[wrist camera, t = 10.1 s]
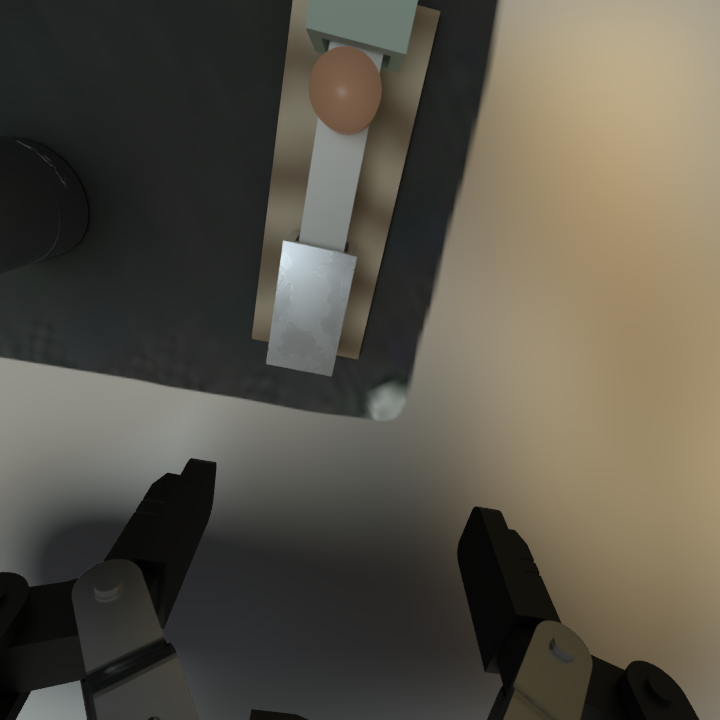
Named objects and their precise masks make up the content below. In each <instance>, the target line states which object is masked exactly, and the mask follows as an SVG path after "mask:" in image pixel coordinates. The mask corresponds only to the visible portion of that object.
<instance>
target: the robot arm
mask: <svg viewBox="0 0 720 720" xmlns="http://www.w3.org/2000/svg"><path fill="white" fill-rule="evenodd" d="M87 223H88V205H87V200H86V196H85V193H84V191H83V188H82V186H81V183H80V182H79V180H78V178H77V177H76V175H75V174H74V172H73V171H72V169H71V168H70V167H69V166H68V165H67V164H66V163H65V161H64V160H63V159H61V158H60V157H59V156H58V155H57V154H55V153H54V152H53V151H52V150H50V149H48V148H47V147H45V146H43V145H41V144H40V143H37V142H34V141H32V140H29V139H26V138H19V137H9V136H0V274H2V273H5V272H8V271H11V270H14V269H17V268H20V267H23V266H26V265H29V264H33V263H35V262H38V261H41V260H44V259H47V258H50V257H53V256H56V255H59V254H62V253H65V252H67V251H69V250H70V249H72V248H74V247H75V246H76V245H77V244H78V243H79V242H80V240H81V239H82V237H83V235H84V233H85V231H86V228H87ZM215 477H216V462H211V461H205V460H199V459H193V458H191V459H190V460H189V461H188V462H187V464H186V466H185V468H184V470H183V471H182V473H181V475H177V474H171V473H167V474H165V475H164V476H162V477H161V478H160V479H158V480H157V481H156V482H154V483H153V484H152V485H151V487H150V488H149V490H148V492H147V493H146V495H145V497H144V499H143V501H141V503H140V504H139V506H138V508H137V509H136V512H135V513H134V514H133V516H132V517H131V519H130V520H129V522H128V524H127V525H126V527H125V528H124V530H123V532H122V533H121V535H120V536H119V538H118V539H117V541H116V543H115V544H114V546H113V548H112V549H111V551H110V552H109V554H108V555H107V557H106V558H105V560H104V561H103V562H100V563H98V564H96V565H94V566H92V567H90V568H89V569H88V570H86V571H85V572H84V573H83V574H82V575H81V576H80V577H79V578H77V579H74V580H71V581H67V582H61V583H55V584H47V585H41V586H33V587H29V586H28V583H27V581H26V580H25V578H24V577H22V576H20V575H18V574H16V573H10V572H0V720H16V718H17V716H18V714H19V713H20V711H21V709H22V707H23V705H24V703H25V701H26V700H27V698H28V696H29V694H30V692H31V691H33V690H37V689H42V688H46V687H51V686H55V685H60V684H65V683H69V682H74V681H78V680H80V682H81V688H82V694H83V699H84V705H85V711H86V716H87V720H200V719H199V716H198V713H197V710H196V707H195V704H194V701H193V698H192V696H191V693H190V690H189V687H188V684H187V681H186V679H185V676H184V673H183V670H182V667H181V664H180V662H179V659H178V656H177V653H176V651H175V649H174V647H173V645H172V644H171V643H169V644H167V643H166V641H165V639H164V636H163V633H162V630H161V628H165V625H166V622H167V620H168V618H169V615H170V613H171V611H172V608H173V606H174V603H175V601H176V598H177V596H178V594H179V591H180V589H181V586H182V584H183V582H184V579H185V577H186V574H187V572H188V569H189V567H190V564H191V562H192V560H193V557H194V555H195V552H196V550H197V547H198V545H199V543H200V540H201V538H202V535H203V533H204V530H205V528H206V526H207V523H208V520H209V517H210V514H211V510H212V505H213V498H214V488H215ZM457 557H458V564H459V568H460V572H461V576H462V581H463V584H464V589H465V592H466V597H467V600H468V605H469V609H470V613H471V617H472V621H473V625H474V630H475V633H476V637H477V642H478V646H479V650H480V654H481V658H482V662H483V666H484V670H485V672H489V673H497V674H500V675H501V679H502V683H503V685H502V687H501V688H500V690H499V692H498V694H497V697H496V699H495V701H494V704H493V706H492V708H491V711H490V713H489V716H488V718H487V720H699V718H698V717H697V716H696V713H695V711H694V709H693V708H692V706H691V704H690V702H689V701H688V699H687V697H686V695H685V694H684V692H683V691H682V689H681V688H680V687H679V686H678V684H677V683H676V682H675V681H674V680H673V679H672V678H671V677H670V676H669V675H668V674H666V673H665V672H664V671H663V670H661V669H660V668H658V667H656V666H655V665H653V664H650V663H648V662H644V661H634V662H631V663H630V664H629V665H628V667H627V668H626V669H625V670H623V669H621V668H619V667H617V666H614V665H612V664H610V663H607V662H605V661H603V660H601V659H599V658H597V657H595V656H593V655H591V654H590V652H589V650H588V648H587V646H586V645H585V643H584V642H583V641H582V639H581V638H580V637H579V636H578V635H577V634H576V633H575V632H574V631H572V630H571V629H570V628H568V627H567V626H565V625H563V624H562V623H561V621H560V619H559V617H558V614H557V612H556V610H555V607H554V605H553V603H552V601H551V598H550V596H549V594H548V592H547V589H546V587H545V584H544V582H543V580H542V578H541V576H539V571H538V568H537V566H536V564H535V563H534V559H533V557H532V555H531V552H530V550H529V548H528V545H527V544H526V543H525V541H524V540H523V539H522V538H521V537H520V536H519V534H518V533H517V532H516V531H515V530H510V529H508V527H507V524H506V522H505V520H504V517H503V515H502V513H501V511H499V510H494V509H488V508H482V507H474V508H473V510H472V512H471V514H470V517H469V519H468V521H467V524H466V526H465V529H464V531H463V533H462V536H461V538H460V541H459V544H458V550H457ZM250 720H308V719H305V718H303V717H301V716H299V715H296V714H288V713H279V712H270V711H262V710H253V709H252V711H251V715H250Z"/></svg>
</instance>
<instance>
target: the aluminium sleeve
mask: <svg viewBox="0 0 720 720" xmlns="http://www.w3.org/2000/svg"><path fill="white" fill-rule="evenodd" d="M299 237H300V230H296V229H293V230H292V231H291V232H290V234H289V235H288V236H287V237H286V238H285V239H284V240H283V246H282V254H281V261H280V268H279V275H278V282H277V289H276V296H275V303H274V311H273V318H272V325H271V332H270V339H269V346H268V353H267V361H266V364H269V365H274V366H280V367H285V368H290V369H295V370H301V371H306V372H311V373H316V374H322V375H327V376H332V372H333V368H334V363H335V358H336V354H337V349H338V344H339V340H340V335H341V330H342V325H343V321H344V316H345V311H346V307H347V302H348V297H349V293H350V288H351V283H352V279H353V274H354V269H355V264H356V260H357V243H354V242H350V241H346V244H345V249H344V252H343V251H338V250H334V249H329V248H325V247H320V246H315V245H311V244H306V243H302V242H299Z"/></svg>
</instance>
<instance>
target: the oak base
mask: <svg viewBox="0 0 720 720" xmlns="http://www.w3.org/2000/svg"><path fill="white" fill-rule="evenodd" d="M308 6H309V0H293V3H292V11H291V20H290V28H289V36H288V44H287V52H286V61H285V69H284V77H283V85H282V94H281V102H280V110H279V118H278V126H277V135H276V143H275V151H274V159H273V168H272V176H271V184H270V192H269V200H268V209H267V217H266V225H265V233H264V242H263V250H262V258H261V266H260V274H259V283H258V291H257V299H256V307H255V316H254V324H253V332H252V339H256V340H261V341H266V342H269V339H270V332H271V325H272V318H273V311H274V303H275V296H276V289H277V282H278V275H279V268H280V261H281V254H282V246H283V240H284V239H285V238H286V237H287V236H288V235H289V234H290V232H291V231H292V230H293V229H296V230H300V231H301V224H302V218H303V211H304V205H305V198H306V192H307V186H308V179H309V173H310V166H311V160H312V153H313V147H314V140H315V134H316V128H317V121H318V116H317V114H316V113H315V111H314V109H313V107H312V104H311V101H310V97H309V80H310V75H311V72H312V69H313V67H314V65H315V64H316V62H317V61H318V59H319V58H320V57H321V56H322V55H323V54H322V53H319V52H315V49H314V47H313V45H312V42H311V40H310V37H309V35H308V32H307V30H306V21H307V13H308ZM439 15H440V11H437V10H434V9H430V8H426V7H423V6H419V5H417V7H416V12H415V16H414V21H413V25H412V30H411V35H410V39H409V44H408V48H407V53H406V56H405V58H404V60H403V62H402V64H401V66H400V69H399V71H398V73H396V72H392V71H388V70H384V69H380V73H379V75H380V79H381V85H382V94H381V100H380V104H379V107H378V109H377V112H376V114H375V117H374V119H373V120H372V122H371V123H370V125H369V129H368V134H367V139H366V144H365V149H364V154H363V159H362V164H361V169H360V174H359V179H358V184H357V189H356V194H355V199H354V204H353V209H352V214H351V219H350V224H349V229H348V234H347V239H346V241H350V242H354V243H357V260H356V264H355V269H354V274H353V279H352V283H351V288H350V293H349V297H348V302H347V307H346V311H345V316H344V321H343V325H342V330H341V335H340V340H339V344H338V349H337V354H336V355H338V356H343V357H348V358H353V359H358V357H359V353H360V348H361V344H362V340H363V336H364V331H365V327H366V323H367V319H368V315H369V310H370V306H371V302H372V298H373V294H374V289H375V285H376V281H377V277H378V272H379V268H380V264H381V260H382V256H383V251H384V247H385V243H386V239H387V234H388V230H389V226H390V222H391V218H392V213H393V209H394V205H395V201H396V197H397V192H398V188H399V184H400V180H401V175H402V171H403V167H404V163H405V159H406V154H407V150H408V146H409V142H410V137H411V133H412V129H413V125H414V121H415V116H416V112H417V108H418V104H419V100H420V95H421V91H422V87H423V83H424V78H425V74H426V70H427V66H428V62H429V57H430V53H431V49H432V45H433V40H434V36H435V32H436V28H437V24H438V19H439Z"/></svg>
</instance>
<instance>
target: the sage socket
mask: <svg viewBox="0 0 720 720" xmlns="http://www.w3.org/2000/svg"><path fill="white" fill-rule="evenodd" d="M417 2H418V0H309V6H308V13H307V21H306V30H307V32H308V35H309V37H310V40H311V42H312V45H313V47H314V49H315V52H319V53H322V54H324V53H326V52H327V51H328V50H329V44H330V41H334V42H338V43H342V44H346V45H349V46H353V47H357V48H361V49H365V50H368V51H372V52H376V53H380V54H383V58H382V63H381V68H380V69H384V70H388V71H392V72H396V73H398V71H399V69H400V66H401V64H402V62H403V60H404V58H405V56H406V53H407V48H408V44H409V39H410V35H411V30H412V25H413V21H414V16H415V12H416V7H417Z"/></svg>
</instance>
